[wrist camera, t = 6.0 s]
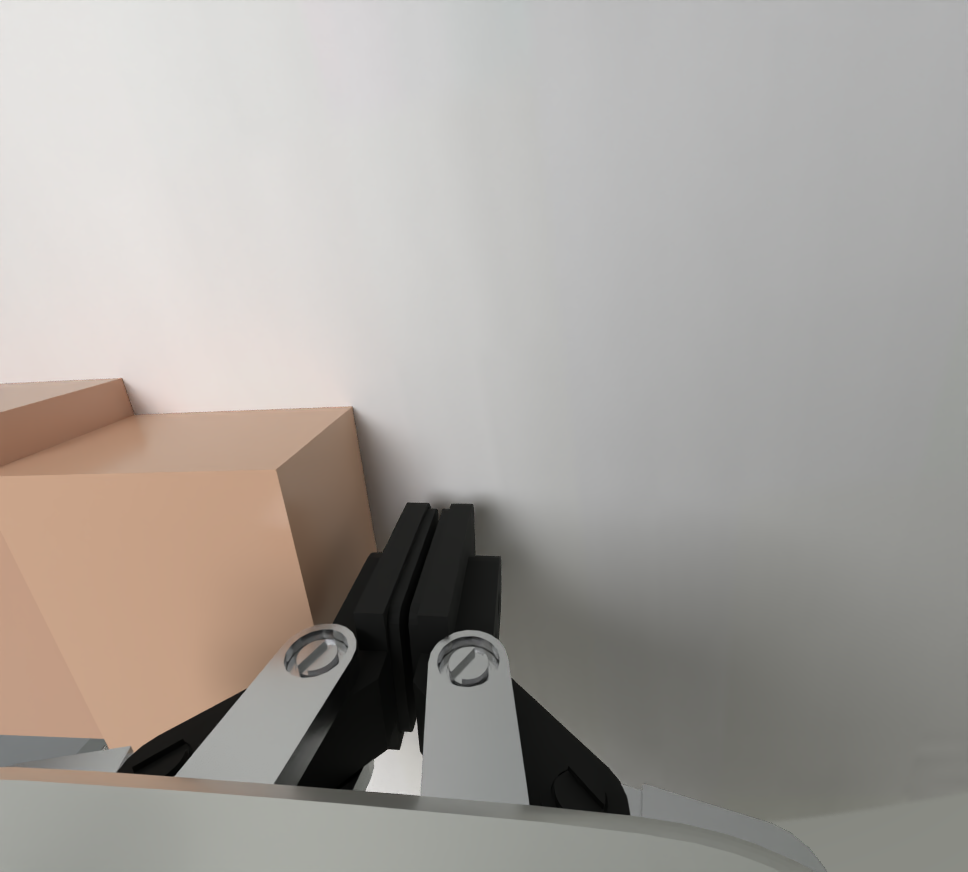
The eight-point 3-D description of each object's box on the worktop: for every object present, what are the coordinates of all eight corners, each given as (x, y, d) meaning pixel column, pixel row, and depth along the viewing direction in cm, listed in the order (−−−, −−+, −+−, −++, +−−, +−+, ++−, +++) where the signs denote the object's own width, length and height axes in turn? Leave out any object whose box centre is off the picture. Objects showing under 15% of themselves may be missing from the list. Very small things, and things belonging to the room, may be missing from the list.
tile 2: (354, 404, 12) (275, 469, 8) (395, 645, 15) (350, 778, 11) (140, 412, 12) (-27, 476, 9) (218, 643, 15) (118, 767, 11)
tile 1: (128, 376, 12) (-50, 426, 8) (210, 619, 15) (104, 739, 11) (-72, 385, 13) (-323, 436, 9) (43, 617, 15) (-111, 730, 12)
